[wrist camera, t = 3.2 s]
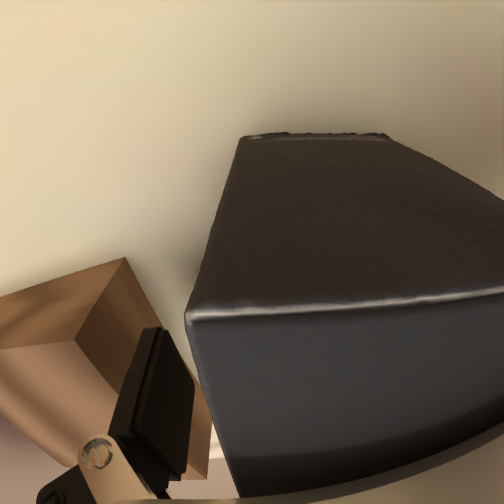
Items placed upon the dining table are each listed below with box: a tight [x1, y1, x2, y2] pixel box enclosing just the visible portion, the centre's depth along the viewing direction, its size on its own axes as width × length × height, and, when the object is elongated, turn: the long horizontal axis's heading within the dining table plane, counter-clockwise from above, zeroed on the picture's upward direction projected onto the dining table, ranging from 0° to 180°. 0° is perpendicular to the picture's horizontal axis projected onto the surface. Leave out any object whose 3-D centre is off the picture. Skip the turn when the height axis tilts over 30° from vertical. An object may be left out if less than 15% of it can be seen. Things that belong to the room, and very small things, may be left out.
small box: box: [184, 132, 504, 498], centre depth 9 cm, size 11×6×10 cm, turn 3°
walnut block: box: [0, 257, 212, 480], centre depth 15 cm, size 12×12×6 cm
